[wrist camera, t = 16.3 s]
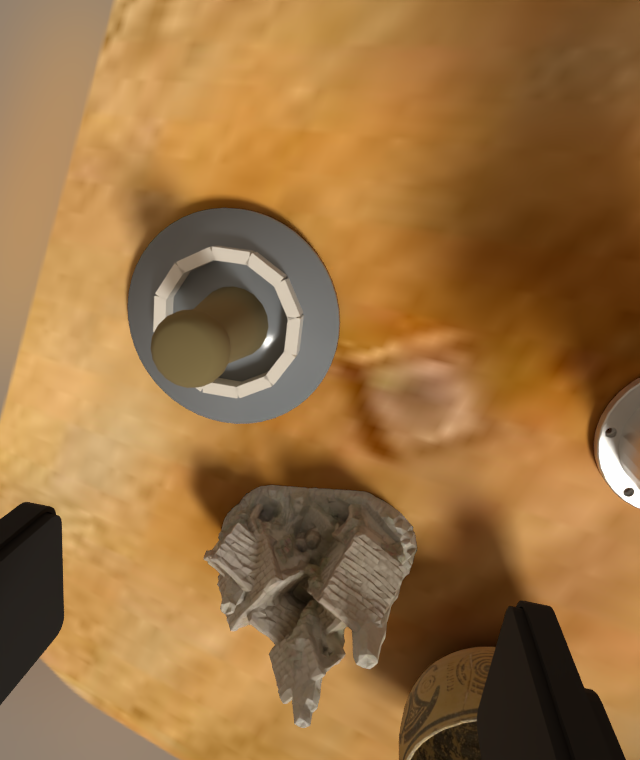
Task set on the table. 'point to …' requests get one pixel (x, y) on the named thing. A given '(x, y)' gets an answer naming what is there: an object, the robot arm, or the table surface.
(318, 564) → the ceramic cottage
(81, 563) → the table surface
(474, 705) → the ceramic bowl
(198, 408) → the round tray
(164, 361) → the cork
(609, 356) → the table surface
